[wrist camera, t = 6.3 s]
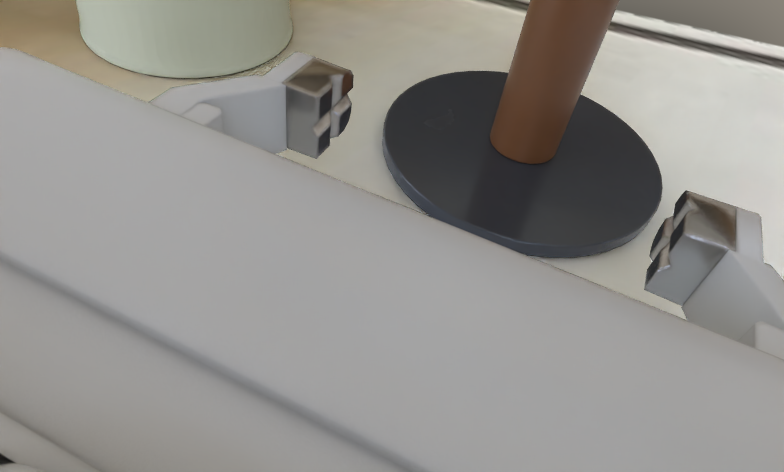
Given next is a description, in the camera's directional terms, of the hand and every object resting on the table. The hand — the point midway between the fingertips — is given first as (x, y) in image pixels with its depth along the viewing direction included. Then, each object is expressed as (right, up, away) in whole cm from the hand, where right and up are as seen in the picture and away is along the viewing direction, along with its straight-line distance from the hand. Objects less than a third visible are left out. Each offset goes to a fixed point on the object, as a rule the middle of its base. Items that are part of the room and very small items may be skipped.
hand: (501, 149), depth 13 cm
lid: (+2, +1, +9) cm, 9 cm away
